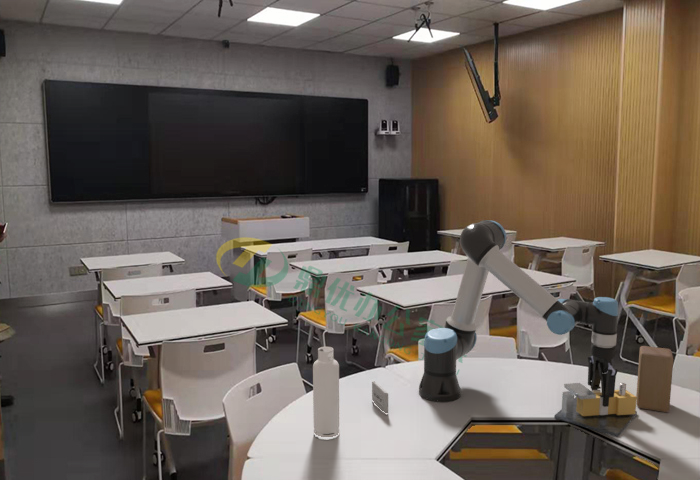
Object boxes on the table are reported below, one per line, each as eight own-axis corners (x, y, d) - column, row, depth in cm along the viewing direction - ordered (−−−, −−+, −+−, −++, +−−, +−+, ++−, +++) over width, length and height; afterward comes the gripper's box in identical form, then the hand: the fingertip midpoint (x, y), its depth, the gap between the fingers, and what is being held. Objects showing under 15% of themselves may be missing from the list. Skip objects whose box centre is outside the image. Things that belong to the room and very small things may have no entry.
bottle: (330, 442, 180) (329, 355, 175) (308, 436, 184) (307, 350, 180) (344, 432, 186) (343, 347, 182) (323, 426, 191) (322, 343, 187)
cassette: (389, 414, 199) (389, 393, 198) (384, 415, 198) (384, 394, 197) (375, 401, 210) (375, 380, 209) (370, 401, 209) (370, 381, 208)
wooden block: (667, 402, 208) (671, 348, 205) (669, 413, 199) (673, 357, 196) (636, 397, 212) (639, 344, 209) (636, 408, 203) (640, 353, 200)
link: (623, 405, 201) (624, 389, 200) (635, 413, 195) (636, 396, 194) (574, 409, 199) (575, 392, 198) (584, 417, 192) (585, 400, 191)
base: (554, 418, 196) (556, 386, 194) (577, 398, 211) (579, 369, 210) (617, 436, 183) (619, 403, 181) (636, 414, 198) (639, 383, 197)
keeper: (577, 411, 201) (579, 382, 199) (594, 424, 191) (596, 394, 190) (556, 412, 200) (557, 384, 198) (571, 426, 190) (573, 396, 188)
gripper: (578, 337, 201) (575, 401, 204) (608, 353, 184) (603, 423, 188) (599, 335, 202) (595, 400, 205) (629, 352, 185) (624, 422, 189)
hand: (599, 411), depth 197 cm, fingers closed on link, 4 cm apart
